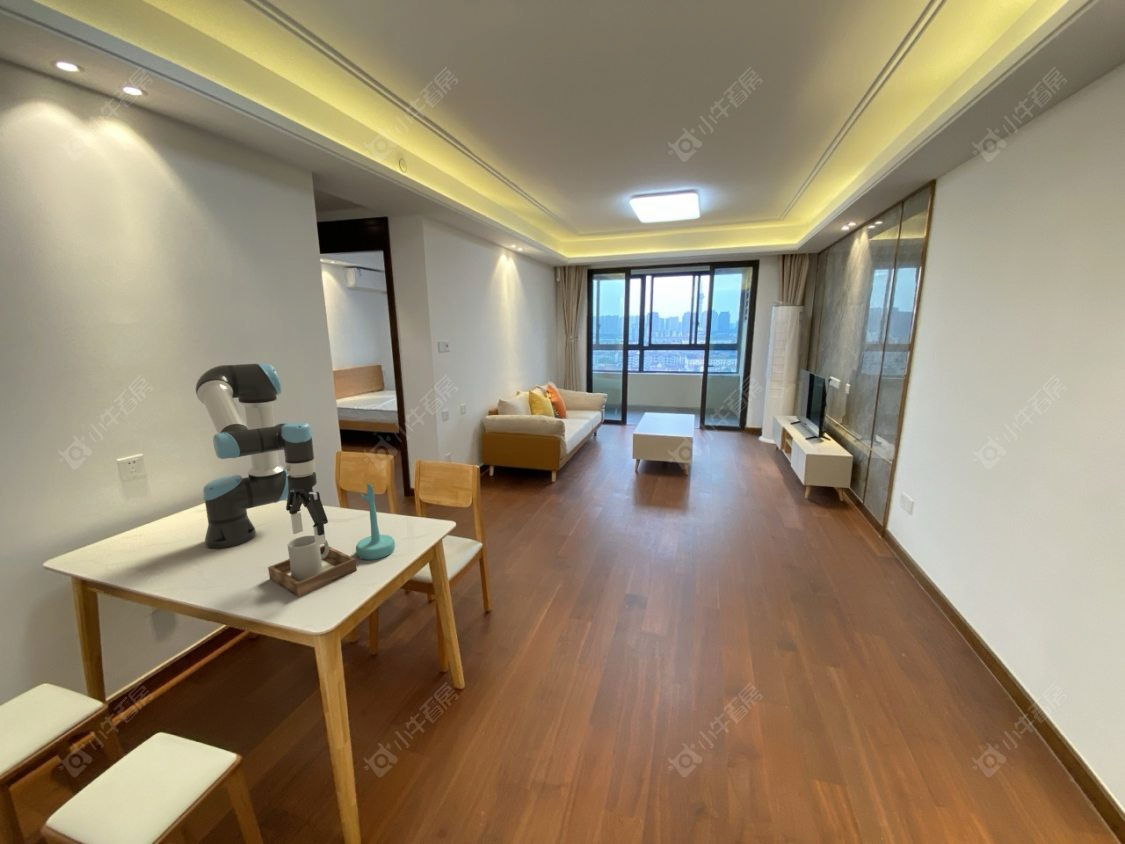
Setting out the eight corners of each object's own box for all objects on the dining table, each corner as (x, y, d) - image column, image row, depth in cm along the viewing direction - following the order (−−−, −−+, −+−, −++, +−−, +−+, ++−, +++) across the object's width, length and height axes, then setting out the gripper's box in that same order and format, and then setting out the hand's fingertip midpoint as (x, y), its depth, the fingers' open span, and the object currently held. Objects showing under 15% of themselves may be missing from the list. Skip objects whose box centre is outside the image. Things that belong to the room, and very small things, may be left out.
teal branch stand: (377, 541, 164) (371, 476, 159) (402, 547, 159) (397, 481, 154) (348, 556, 153) (341, 487, 148) (374, 564, 148) (368, 492, 143)
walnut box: (269, 578, 139) (268, 567, 138) (326, 555, 154) (325, 544, 153) (298, 597, 129) (297, 584, 128) (356, 570, 144) (355, 558, 143)
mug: (302, 583, 134) (298, 550, 132) (285, 577, 138) (281, 544, 136) (338, 565, 145) (335, 534, 142) (321, 559, 148) (318, 529, 146)
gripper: (268, 469, 139) (277, 532, 143) (310, 485, 125) (318, 554, 130) (293, 463, 145) (301, 523, 149) (336, 478, 131) (342, 544, 136)
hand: (309, 538), depth 139 cm, fingers open, 13 cm apart
